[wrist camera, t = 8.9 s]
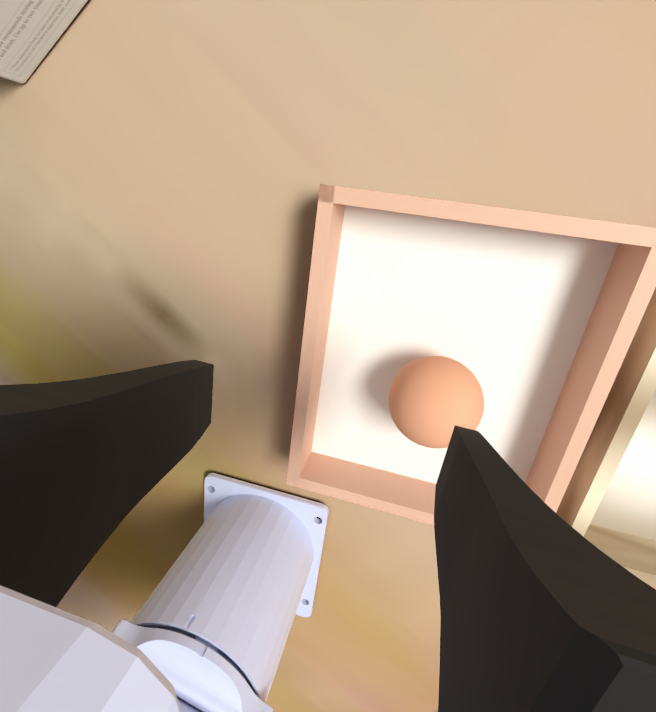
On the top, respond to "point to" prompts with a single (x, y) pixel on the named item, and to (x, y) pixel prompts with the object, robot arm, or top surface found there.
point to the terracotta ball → (435, 400)
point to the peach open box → (459, 337)
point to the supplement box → (31, 33)
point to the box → (622, 464)
